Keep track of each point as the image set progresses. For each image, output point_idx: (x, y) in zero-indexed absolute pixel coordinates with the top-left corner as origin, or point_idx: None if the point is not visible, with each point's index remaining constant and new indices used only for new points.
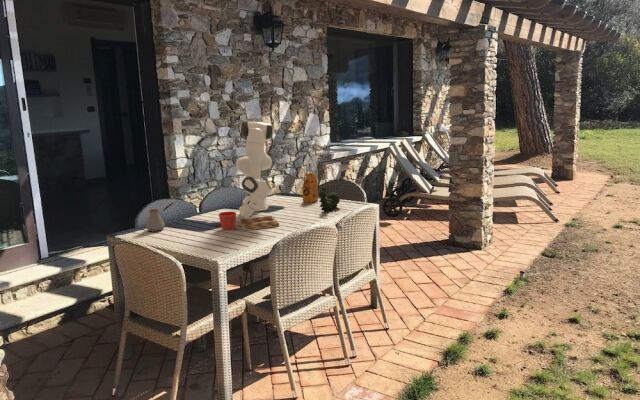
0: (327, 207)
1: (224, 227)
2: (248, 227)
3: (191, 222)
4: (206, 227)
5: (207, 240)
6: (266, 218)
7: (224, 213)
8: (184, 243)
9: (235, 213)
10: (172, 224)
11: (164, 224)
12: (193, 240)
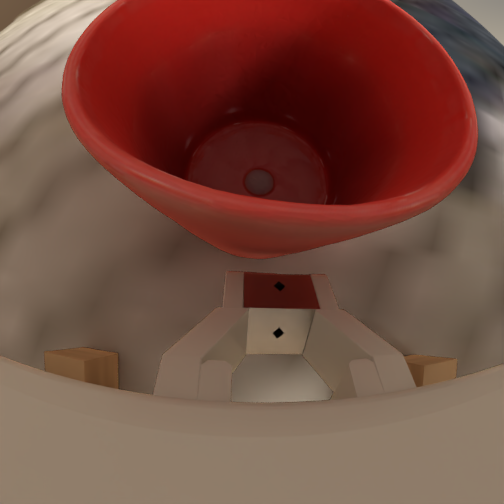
0: None
1: (195, 121)
2: None
3: (481, 64)
4: None
5: (27, 66)
6: None
7: (416, 51)
8: (72, 5)
9: (151, 181)
10: (445, 16)
11: None
12: (83, 16)
